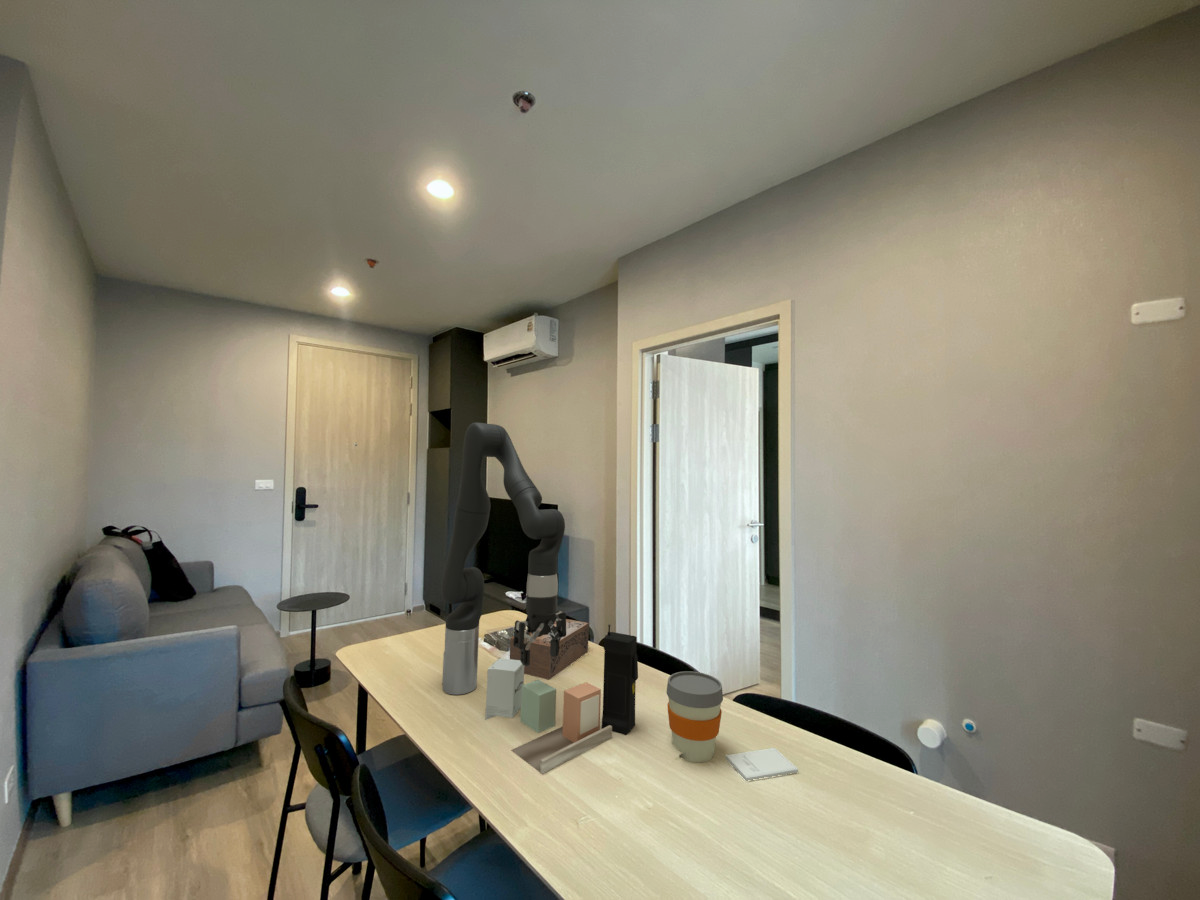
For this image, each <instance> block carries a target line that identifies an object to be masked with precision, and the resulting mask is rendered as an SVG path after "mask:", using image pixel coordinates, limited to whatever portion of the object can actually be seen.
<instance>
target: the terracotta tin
mask: <svg viewBox="0 0 1200 900" xmlns="http://www.w3.org/2000/svg"><path fill="white" fill-rule="evenodd" d="M601 696H602V689H601V688H599V687H597V686H595V685H593V684H591V683H589V682H587V681H586V682H583V683H581V684H580V683H579V684H577V685H575V686H573V687H571V688H567V689H565V690H563V710H562V711H563V712H562V713H563V715H562V726H563V736H564V737H566V738H567V739H569V740H570V741H572V742H573V743H575V742H577V741H579V740H581V739H583V738H585V737H587V736H589V735H591V734H593V733H595V732H597V731H599V730H601V727H600V726H601V701H602V700H601Z"/></svg>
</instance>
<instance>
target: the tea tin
mask: <svg viewBox="0 0 1200 900" xmlns="http://www.w3.org/2000/svg"><path fill="white" fill-rule="evenodd" d="M556 707H557V689H556V687H553V686H552V685H550V684H548V683H545V682H543V681H542V680H541V679H536V680H533V681H531V682H527V683H524V685H522V693H521V708H520V722H521V723H523V725H526V726H527V727H528V728H529V729H531V730H533V731H534V732H535V733H537V734H540V733H541V732H544V731H546V730H548V729H551V728H553V727H555V726H556Z"/></svg>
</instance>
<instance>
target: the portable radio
mask: <svg viewBox="0 0 1200 900" xmlns="http://www.w3.org/2000/svg"><path fill="white" fill-rule="evenodd" d="M607 626H608V631H607V634H606V635H605V636H604V638H603V650H604V656H603V657H604V658H603V663H604V664H603V689H602V692H603V693H602V695H603V697H602V715H601V729H603V728H605V727H607V726H609V725H611V726H612V733H617V734H621V735H624V736H627V735H629V733H630V732H631V731H632V730H633V729H634V727H635V726H636V684H637V683H636V681H637V680H638V679H639V669H638V667H639V665H638V663H639V661H638V654H637V638H638V637H637V636H635V635H631V634H625V633H619V632H615V631H611V624H608V625H607Z"/></svg>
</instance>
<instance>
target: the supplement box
mask: <svg viewBox="0 0 1200 900" xmlns="http://www.w3.org/2000/svg"><path fill="white" fill-rule="evenodd" d="M486 678H487V681H486V697H485V698H486V702H485V717H484V718H485V719H484V720H485V721H487V720H489V719H492V718H495V717H503V718H510V719H511V718H514V717H515V716H516V714H517V713H518V712H519V710H521V693H522V685H524V684H525V674H524V665H523V664H522V663H521V661H520V660H512V659H510V658H502V657H501V658H498V659H497V660H495V661H494V662H493V663H492V664H491V665H490V666H489V667H488V668H487V677H486Z"/></svg>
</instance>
